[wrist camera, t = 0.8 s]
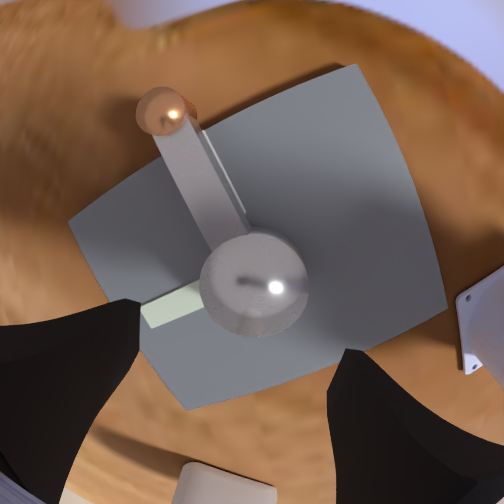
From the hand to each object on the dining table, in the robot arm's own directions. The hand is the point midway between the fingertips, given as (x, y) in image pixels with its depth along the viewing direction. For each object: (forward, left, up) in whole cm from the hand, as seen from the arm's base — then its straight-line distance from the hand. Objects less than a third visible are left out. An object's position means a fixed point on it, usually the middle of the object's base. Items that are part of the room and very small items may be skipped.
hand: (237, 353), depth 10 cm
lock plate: (0, -1, -8) cm, 8 cm away
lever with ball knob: (-1, -4, -6) cm, 7 cm away
